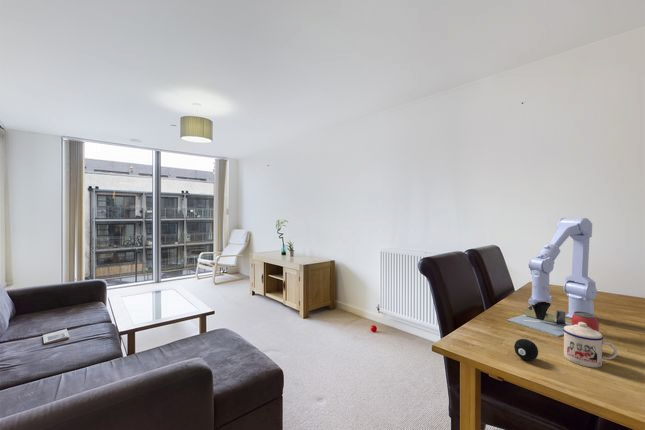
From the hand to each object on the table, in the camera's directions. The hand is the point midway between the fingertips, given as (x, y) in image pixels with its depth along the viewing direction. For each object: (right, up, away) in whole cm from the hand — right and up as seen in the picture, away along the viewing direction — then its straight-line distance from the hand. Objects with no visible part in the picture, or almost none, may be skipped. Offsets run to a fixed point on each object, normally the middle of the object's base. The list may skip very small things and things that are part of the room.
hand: (540, 319), depth 117 cm
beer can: (-3, -2, -23) cm, 24 cm away
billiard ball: (-27, -2, -29) cm, 40 cm away
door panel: (+1, -2, -1) cm, 2 cm away
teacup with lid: (-9, -2, -31) cm, 33 cm away
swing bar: (+2, -1, +3) cm, 4 cm away
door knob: (+7, -2, -2) cm, 7 cm away
